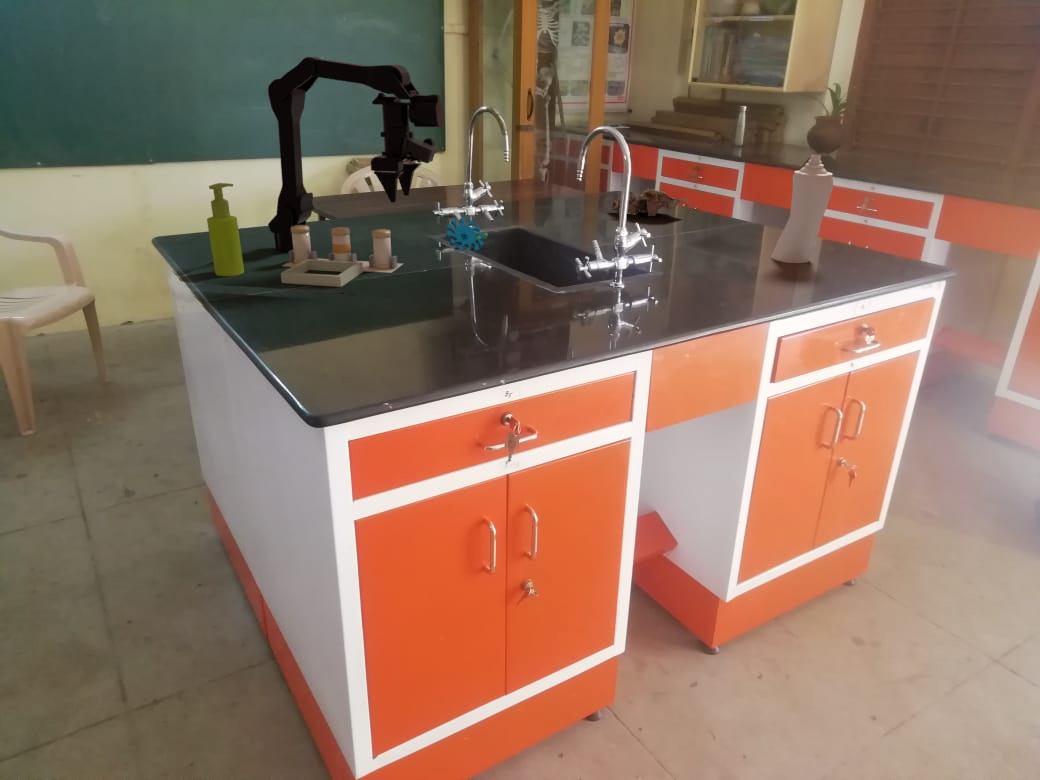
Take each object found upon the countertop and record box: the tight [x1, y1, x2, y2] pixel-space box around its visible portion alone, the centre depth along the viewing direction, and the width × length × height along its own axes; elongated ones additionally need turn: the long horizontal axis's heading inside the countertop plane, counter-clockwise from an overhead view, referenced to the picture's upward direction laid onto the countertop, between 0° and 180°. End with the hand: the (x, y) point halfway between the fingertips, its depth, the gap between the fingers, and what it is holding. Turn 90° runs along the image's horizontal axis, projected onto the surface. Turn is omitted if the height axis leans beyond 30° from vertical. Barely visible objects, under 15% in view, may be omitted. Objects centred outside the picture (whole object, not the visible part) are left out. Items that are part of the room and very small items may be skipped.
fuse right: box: [371, 228, 392, 270], centre depth 169 cm, size 4×4×8 cm
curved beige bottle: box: [771, 153, 834, 264], centre depth 181 cm, size 12×11×25 cm
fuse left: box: [291, 224, 312, 264], centre depth 172 cm, size 4×4×8 cm
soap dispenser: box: [206, 182, 245, 277], centre depth 162 cm, size 6×7×20 cm
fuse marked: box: [330, 226, 352, 262], centre depth 170 cm, size 4×4×8 cm
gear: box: [445, 217, 489, 252], centre depth 192 cm, size 11×6×10 cm
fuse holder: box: [281, 250, 404, 274], centre depth 172 cm, size 26×8×4 cm, turn 79°
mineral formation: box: [611, 187, 690, 217], centre depth 234 cm, size 23×16×10 cm
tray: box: [280, 259, 364, 295], centre depth 162 cm, size 13×12×4 cm
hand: (400, 198), depth 175 cm, fingers open, 9 cm apart
